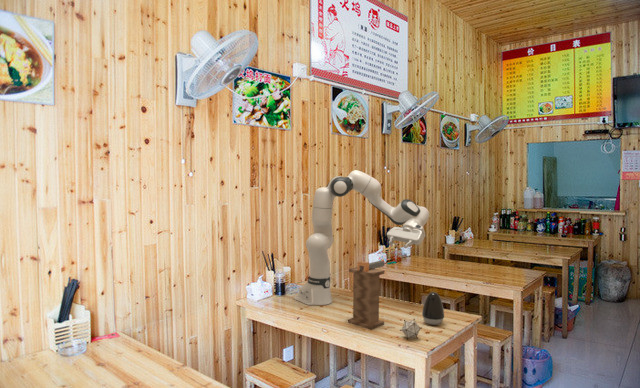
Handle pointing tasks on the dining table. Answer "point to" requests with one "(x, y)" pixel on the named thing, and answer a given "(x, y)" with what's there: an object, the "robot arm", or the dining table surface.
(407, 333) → the game die
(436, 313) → the pump dispenser
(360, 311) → the walnut stand
